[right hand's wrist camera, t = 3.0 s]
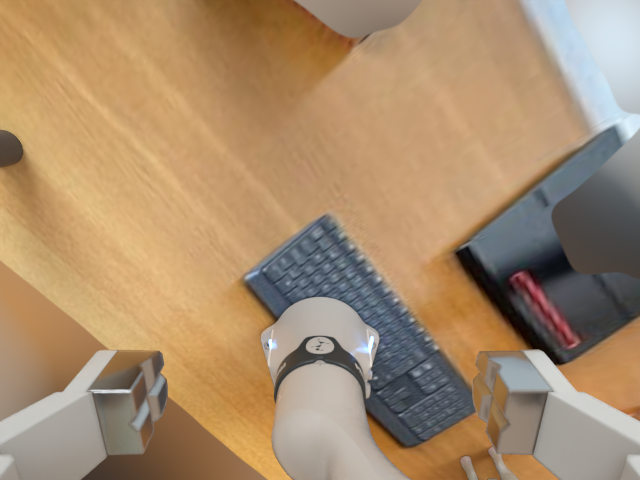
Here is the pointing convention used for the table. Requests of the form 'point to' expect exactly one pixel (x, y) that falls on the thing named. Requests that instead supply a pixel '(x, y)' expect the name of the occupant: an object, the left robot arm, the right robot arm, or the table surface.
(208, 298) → the table surface
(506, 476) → the figurine
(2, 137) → the bottle
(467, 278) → the table surface
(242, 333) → the table surface
